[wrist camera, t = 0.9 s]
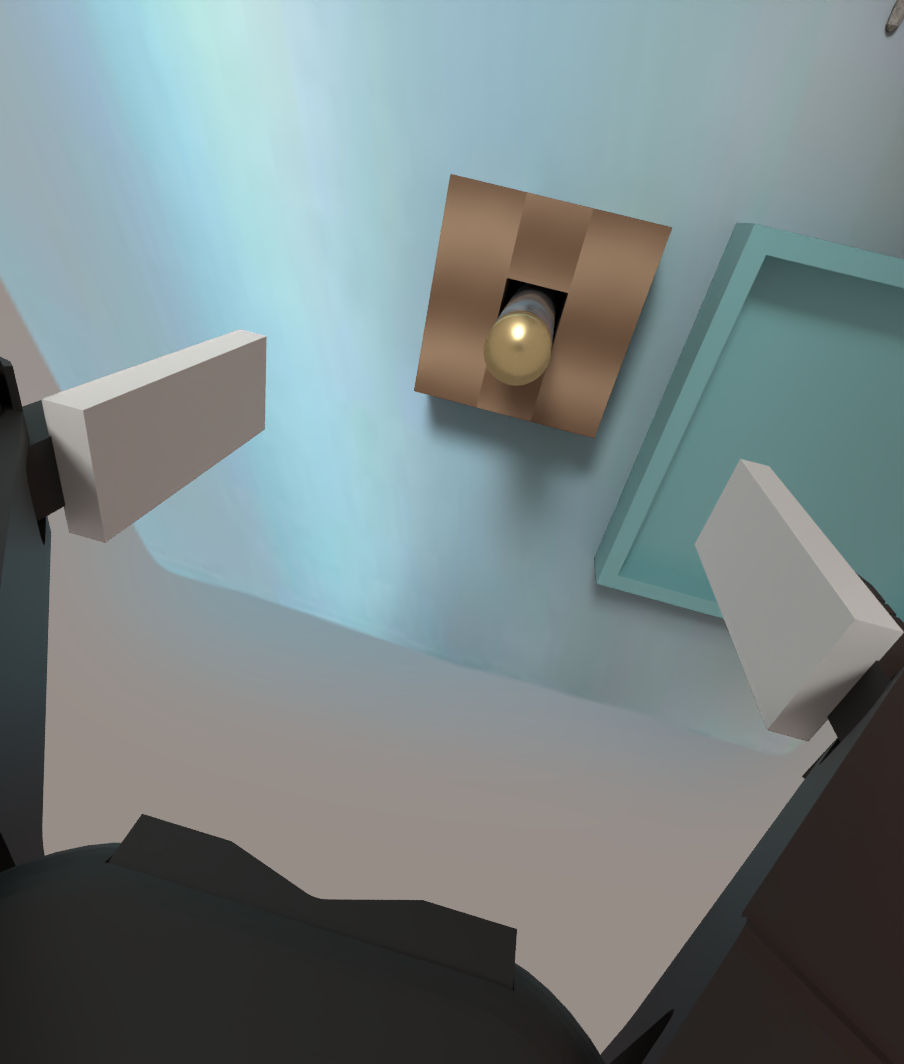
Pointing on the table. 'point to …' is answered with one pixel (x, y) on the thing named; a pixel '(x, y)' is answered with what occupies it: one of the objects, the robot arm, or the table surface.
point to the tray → (775, 415)
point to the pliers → (895, 16)
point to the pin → (522, 336)
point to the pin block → (545, 260)
